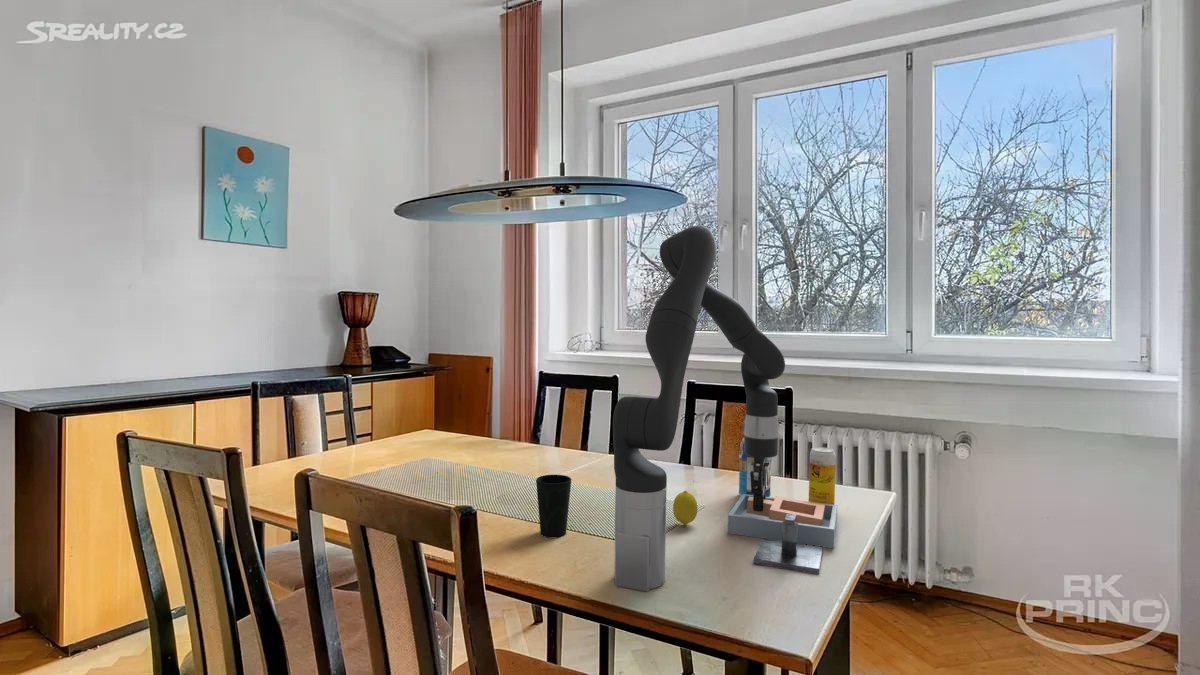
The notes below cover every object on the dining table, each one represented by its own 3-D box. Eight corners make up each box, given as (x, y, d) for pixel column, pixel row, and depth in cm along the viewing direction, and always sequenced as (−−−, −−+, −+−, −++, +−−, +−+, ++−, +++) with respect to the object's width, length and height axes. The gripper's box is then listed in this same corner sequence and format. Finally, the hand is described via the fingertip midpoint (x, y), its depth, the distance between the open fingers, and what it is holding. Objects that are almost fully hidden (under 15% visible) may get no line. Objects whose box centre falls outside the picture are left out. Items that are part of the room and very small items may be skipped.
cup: (542, 541, 135) (542, 485, 134) (531, 529, 142) (531, 476, 141) (576, 536, 138) (576, 481, 137) (563, 525, 145) (564, 473, 144)
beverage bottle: (748, 490, 175) (750, 417, 174) (776, 496, 169) (778, 421, 169) (732, 496, 169) (733, 421, 168) (760, 503, 163) (762, 425, 162)
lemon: (696, 530, 143) (697, 495, 142) (671, 528, 144) (672, 493, 143) (697, 522, 148) (698, 488, 148) (673, 520, 149) (674, 486, 149)
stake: (818, 574, 120) (820, 532, 119) (753, 563, 124) (754, 523, 124) (822, 551, 131) (823, 513, 130) (762, 543, 135) (763, 505, 135)
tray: (833, 548, 133) (834, 529, 133) (727, 533, 141) (728, 515, 141) (836, 522, 149) (837, 505, 149) (742, 509, 158) (742, 493, 158)
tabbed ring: (820, 533, 137) (822, 519, 137) (743, 517, 143) (744, 504, 143) (823, 517, 147) (824, 505, 147) (751, 504, 153) (752, 492, 153)
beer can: (804, 509, 159) (805, 449, 158) (814, 503, 163) (816, 445, 163) (827, 514, 155) (829, 453, 154) (838, 509, 159) (839, 449, 159)
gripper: (774, 441, 138) (772, 519, 139) (781, 430, 151) (779, 502, 152) (739, 438, 141) (737, 515, 142) (749, 427, 154) (747, 498, 155)
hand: (759, 508), depth 147 cm, fingers closed on tabbed ring, 3 cm apart
